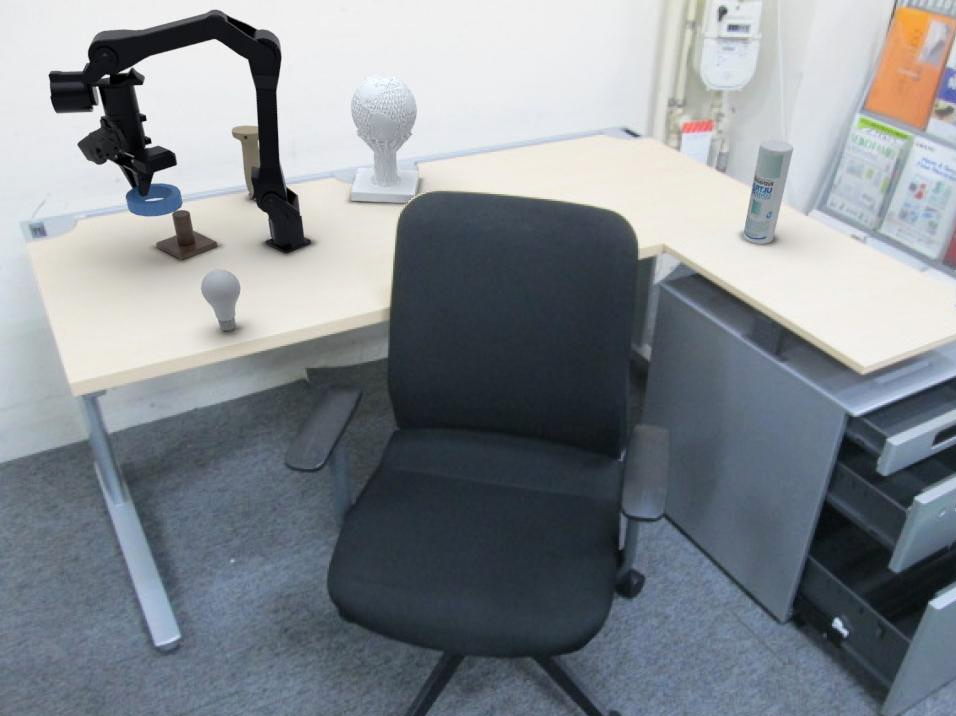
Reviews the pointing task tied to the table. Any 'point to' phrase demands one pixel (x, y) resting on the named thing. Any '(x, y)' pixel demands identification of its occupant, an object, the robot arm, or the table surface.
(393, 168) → the trophy
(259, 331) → the table surface
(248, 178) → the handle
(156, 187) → the tape
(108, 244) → the table surface
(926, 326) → the table surface
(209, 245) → the peg stand
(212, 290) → the lightbulb
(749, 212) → the spray can
